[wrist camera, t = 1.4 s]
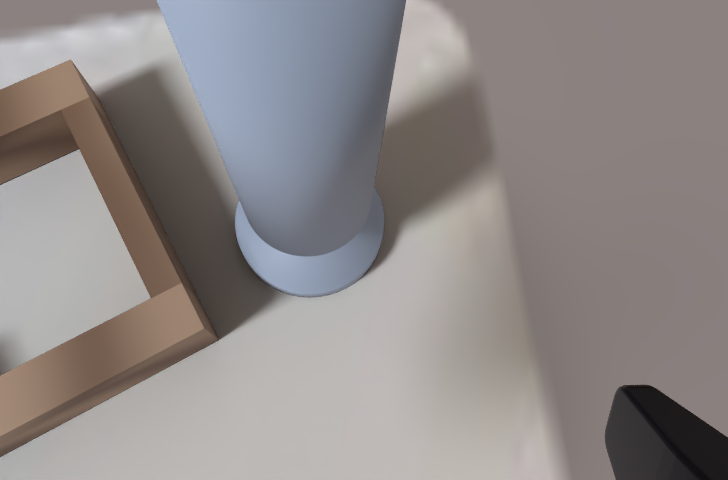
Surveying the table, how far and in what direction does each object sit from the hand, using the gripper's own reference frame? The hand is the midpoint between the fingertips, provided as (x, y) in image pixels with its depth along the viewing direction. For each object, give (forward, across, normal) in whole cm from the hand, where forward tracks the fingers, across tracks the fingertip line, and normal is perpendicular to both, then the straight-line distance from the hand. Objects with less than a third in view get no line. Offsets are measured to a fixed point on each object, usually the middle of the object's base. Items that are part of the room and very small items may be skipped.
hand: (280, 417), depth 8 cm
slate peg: (+14, 0, +4) cm, 15 cm away
